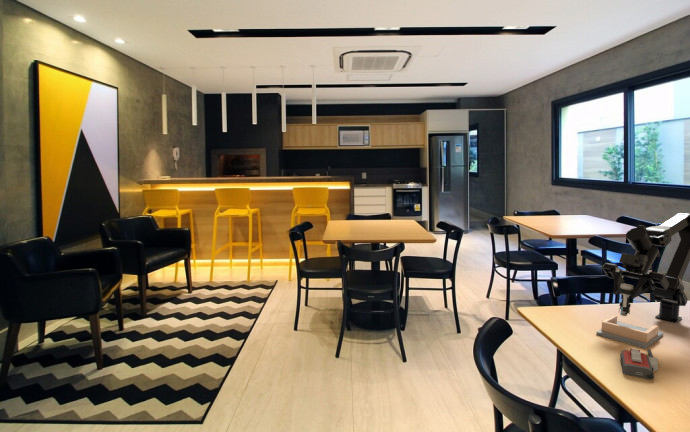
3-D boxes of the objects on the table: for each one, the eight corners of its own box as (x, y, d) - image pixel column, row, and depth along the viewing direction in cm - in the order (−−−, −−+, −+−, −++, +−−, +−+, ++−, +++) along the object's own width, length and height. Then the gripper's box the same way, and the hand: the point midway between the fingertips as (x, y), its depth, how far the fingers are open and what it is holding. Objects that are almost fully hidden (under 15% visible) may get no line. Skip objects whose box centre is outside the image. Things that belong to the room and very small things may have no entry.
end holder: (615, 323, 151) (616, 312, 151) (663, 335, 140) (664, 323, 139) (596, 334, 141) (597, 322, 141) (645, 348, 130) (646, 335, 130)
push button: (632, 319, 137) (635, 289, 136) (613, 315, 141) (615, 286, 139) (634, 313, 142) (637, 284, 141) (615, 309, 146) (618, 281, 144)
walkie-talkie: (662, 385, 109) (653, 355, 127) (663, 368, 109) (654, 340, 126) (622, 377, 114) (618, 349, 131) (623, 361, 113) (619, 335, 131)
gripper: (606, 240, 149) (585, 275, 145) (666, 249, 132) (645, 289, 129) (618, 259, 153) (598, 294, 150) (678, 270, 137) (657, 309, 133)
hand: (622, 296), depth 140 cm, fingers closed on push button, 5 cm apart
